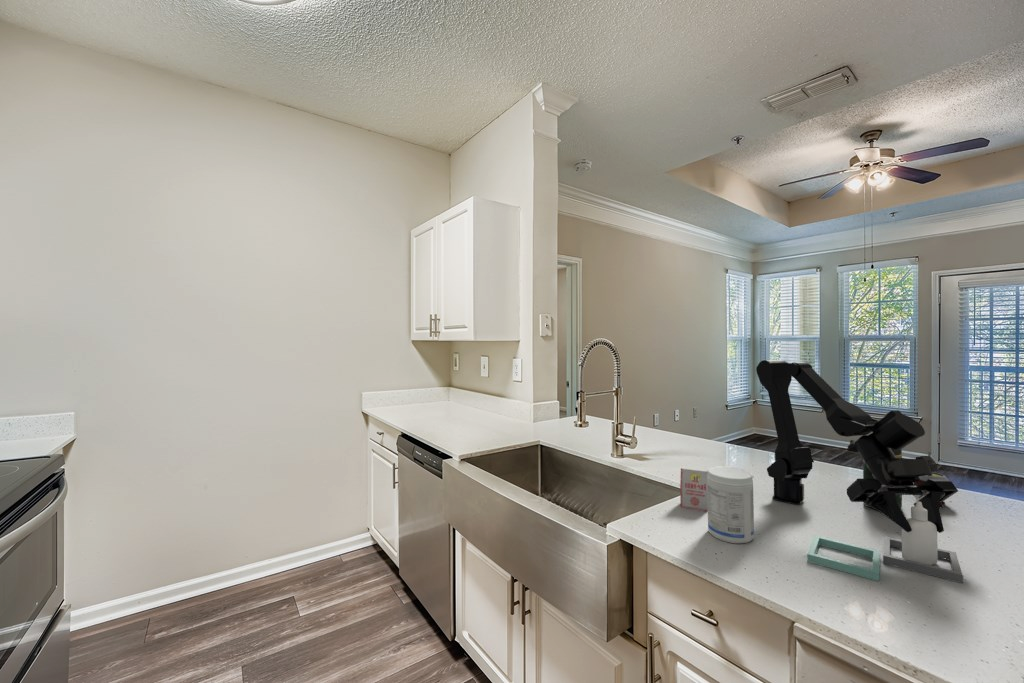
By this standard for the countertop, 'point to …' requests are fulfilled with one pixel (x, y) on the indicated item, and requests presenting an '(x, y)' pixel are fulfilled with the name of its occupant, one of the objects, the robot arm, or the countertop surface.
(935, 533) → the eye dropper bottle
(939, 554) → the upper socket
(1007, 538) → the countertop surface
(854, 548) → the lower socket
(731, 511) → the supplement tub
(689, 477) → the white red printed box
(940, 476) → the mate gourd
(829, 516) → the countertop surface
